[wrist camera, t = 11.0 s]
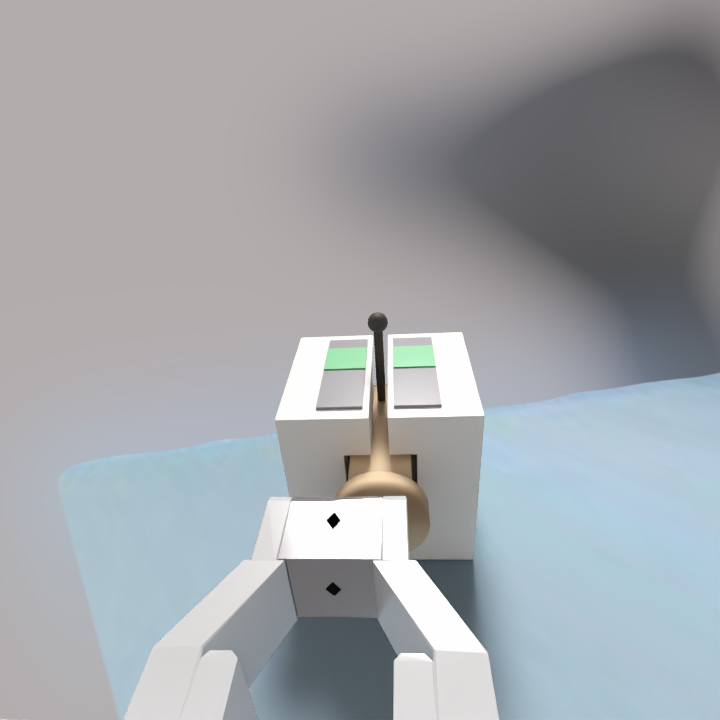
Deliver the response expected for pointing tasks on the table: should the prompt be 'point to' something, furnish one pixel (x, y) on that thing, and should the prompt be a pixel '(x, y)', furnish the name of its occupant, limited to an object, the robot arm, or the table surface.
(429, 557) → the tuner housing
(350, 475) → the peg
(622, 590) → the table surface
